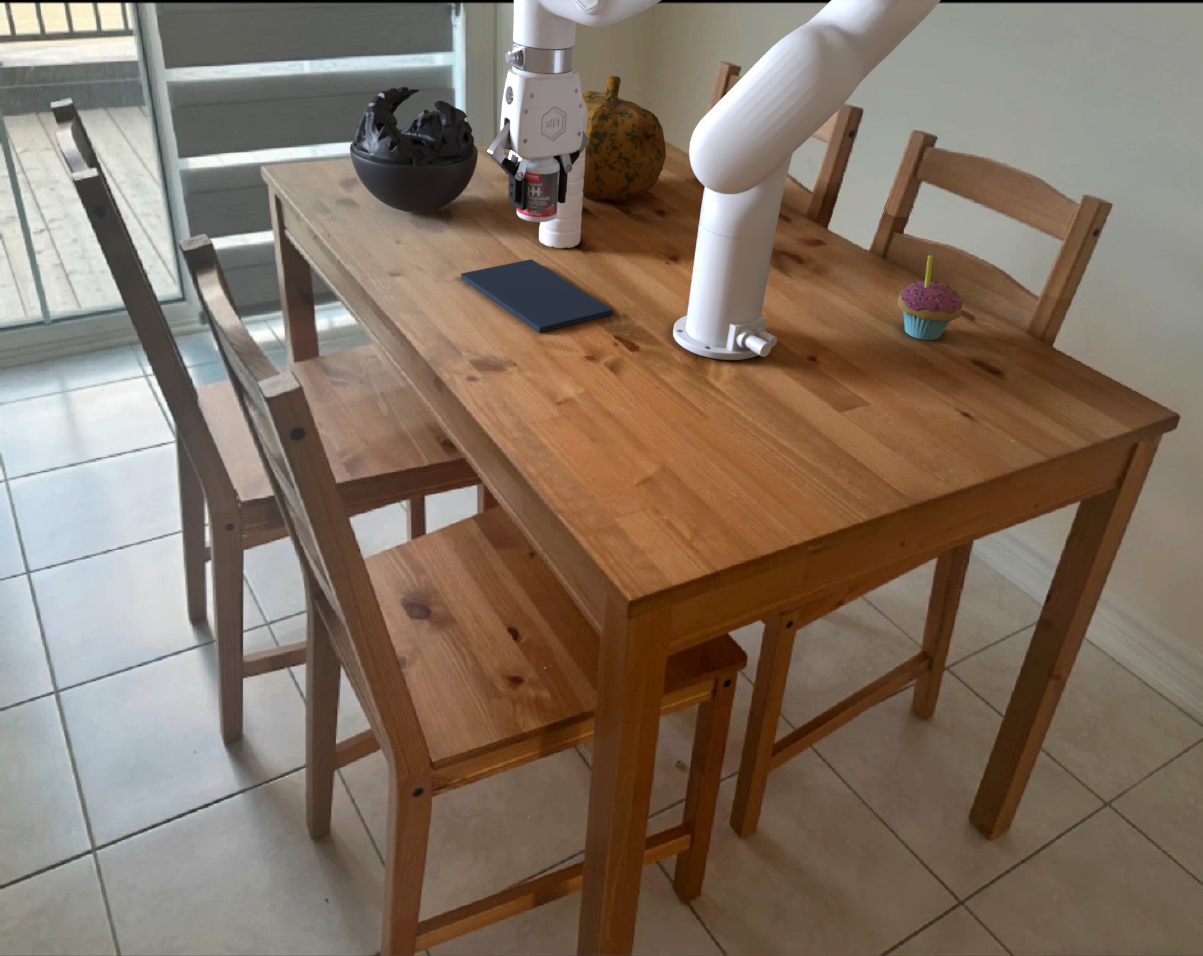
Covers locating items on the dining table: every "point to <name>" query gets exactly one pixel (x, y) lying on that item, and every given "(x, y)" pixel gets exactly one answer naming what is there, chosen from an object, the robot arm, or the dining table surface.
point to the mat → (536, 295)
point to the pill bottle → (541, 190)
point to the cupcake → (928, 306)
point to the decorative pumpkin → (620, 146)
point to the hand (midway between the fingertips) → (537, 202)
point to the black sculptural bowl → (413, 154)
